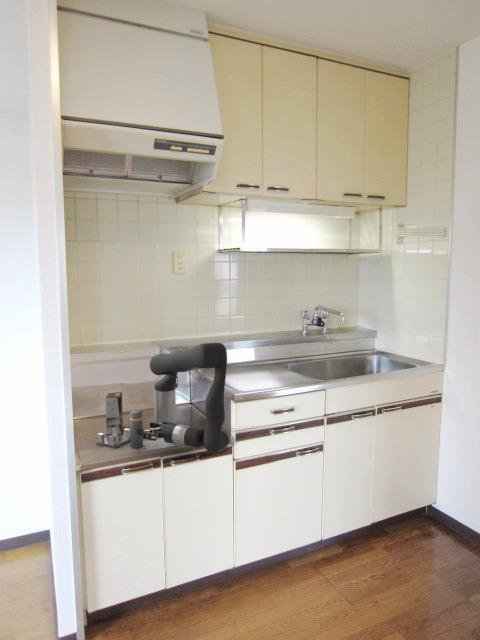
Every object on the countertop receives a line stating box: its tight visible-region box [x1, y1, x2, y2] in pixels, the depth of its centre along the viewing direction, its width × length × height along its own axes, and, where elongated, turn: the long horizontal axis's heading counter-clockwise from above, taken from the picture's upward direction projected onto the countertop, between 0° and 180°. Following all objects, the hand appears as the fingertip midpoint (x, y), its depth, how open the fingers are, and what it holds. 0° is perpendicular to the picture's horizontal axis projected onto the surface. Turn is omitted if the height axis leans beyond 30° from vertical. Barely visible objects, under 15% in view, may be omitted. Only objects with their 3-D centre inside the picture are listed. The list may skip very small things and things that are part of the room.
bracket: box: [95, 426, 131, 449], centre depth 186 cm, size 10×10×4 cm
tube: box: [129, 410, 144, 449], centre depth 181 cm, size 5×5×14 cm
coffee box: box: [105, 391, 124, 435], centre depth 199 cm, size 9×6×16 cm
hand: (143, 428), depth 180 cm, fingers open, 8 cm apart
